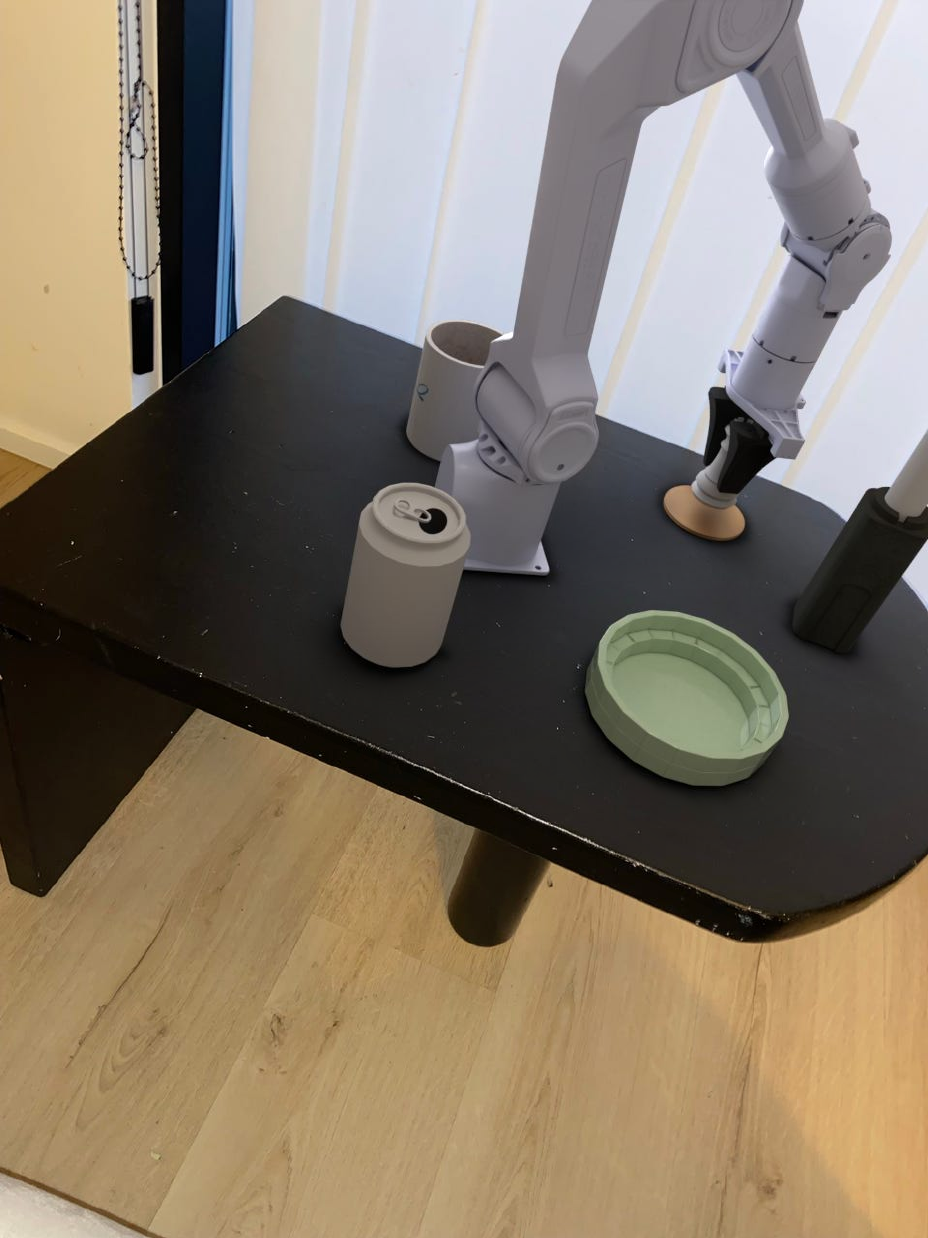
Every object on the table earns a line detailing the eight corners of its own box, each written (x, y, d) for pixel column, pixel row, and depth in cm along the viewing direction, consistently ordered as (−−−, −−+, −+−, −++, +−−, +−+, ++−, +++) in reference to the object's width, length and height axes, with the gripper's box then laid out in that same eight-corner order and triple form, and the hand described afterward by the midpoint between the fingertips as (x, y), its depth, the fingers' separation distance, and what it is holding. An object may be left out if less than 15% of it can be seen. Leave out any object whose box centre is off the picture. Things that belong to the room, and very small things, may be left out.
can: (427, 688, 66) (464, 559, 58) (325, 657, 66) (348, 524, 58) (449, 620, 72) (486, 493, 64) (355, 591, 72) (380, 461, 64)
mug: (479, 475, 87) (505, 379, 80) (392, 443, 88) (412, 345, 81) (514, 416, 96) (541, 325, 89) (436, 387, 97) (456, 295, 90)
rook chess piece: (684, 480, 90) (717, 407, 85) (727, 485, 91) (762, 414, 86) (696, 508, 87) (731, 435, 82) (740, 514, 88) (778, 442, 83)
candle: (850, 621, 83) (1024, 368, 66) (849, 657, 79) (1033, 399, 63) (794, 599, 84) (953, 343, 67) (791, 635, 80) (957, 372, 63)
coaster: (677, 537, 87) (679, 533, 86) (653, 484, 92) (654, 481, 92) (755, 544, 89) (757, 540, 88) (726, 492, 94) (728, 489, 94)
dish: (610, 788, 64) (627, 756, 61) (565, 637, 73) (578, 604, 71) (796, 791, 67) (819, 760, 65) (729, 646, 77) (747, 615, 75)
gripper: (864, 397, 75) (788, 531, 84) (794, 310, 85) (732, 438, 94) (785, 387, 73) (716, 524, 82) (723, 299, 83) (667, 430, 92)
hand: (720, 478), depth 88 cm, fingers closed on rook chess piece, 3 cm apart
